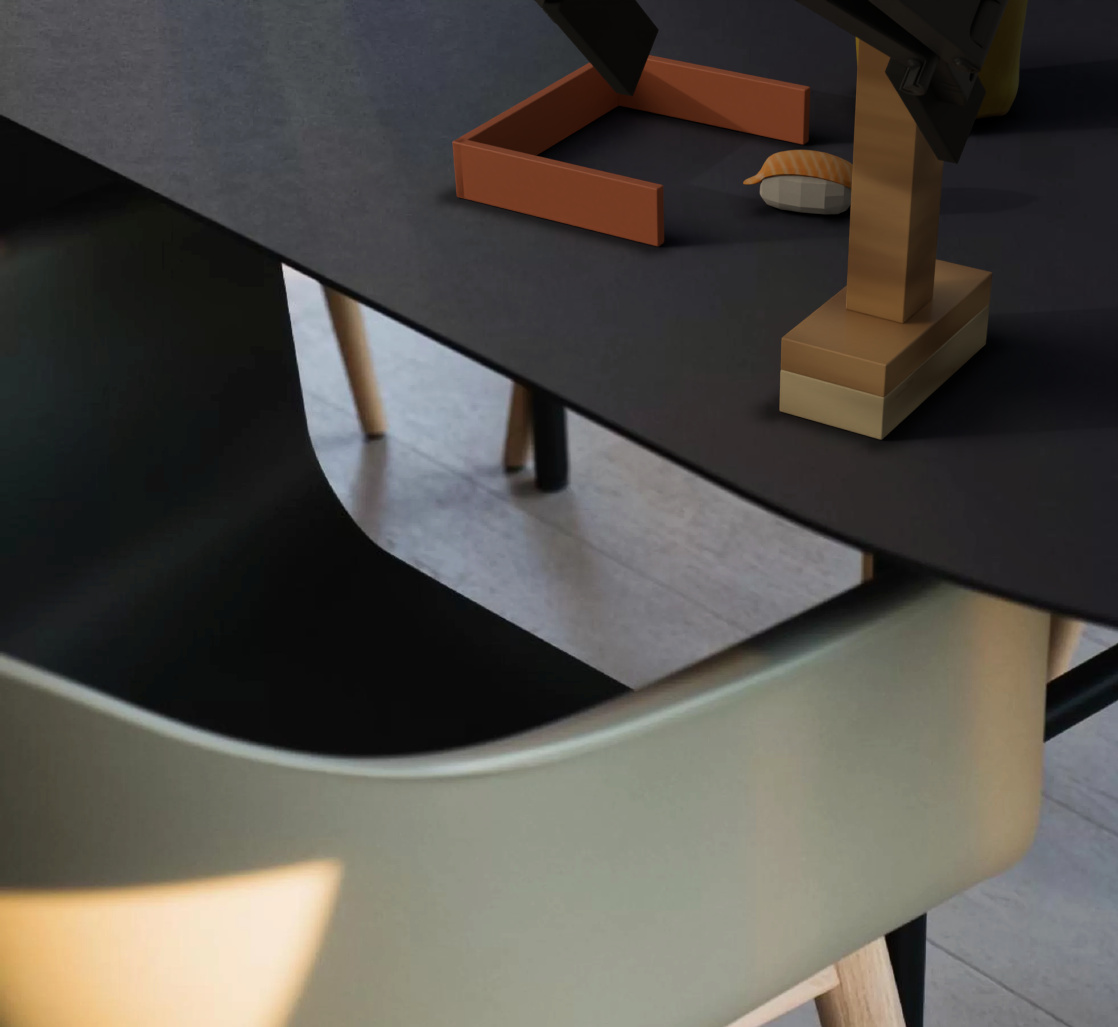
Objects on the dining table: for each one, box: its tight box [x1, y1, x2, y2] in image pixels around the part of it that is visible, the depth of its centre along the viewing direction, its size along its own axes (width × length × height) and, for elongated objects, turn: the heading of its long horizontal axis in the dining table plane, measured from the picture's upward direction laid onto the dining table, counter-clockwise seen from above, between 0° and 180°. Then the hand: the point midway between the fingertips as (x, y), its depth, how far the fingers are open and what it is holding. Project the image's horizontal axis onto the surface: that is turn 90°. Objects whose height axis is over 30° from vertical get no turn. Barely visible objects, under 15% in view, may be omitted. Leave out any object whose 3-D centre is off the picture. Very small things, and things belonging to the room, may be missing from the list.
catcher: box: [452, 54, 811, 247], centre depth 109 cm, size 13×15×3 cm
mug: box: [855, 0, 1029, 120], centre depth 113 cm, size 12×10×10 cm
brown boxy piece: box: [779, 39, 993, 441], centre depth 86 cm, size 10×5×16 cm, turn 145°
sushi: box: [742, 149, 853, 215], centre depth 104 cm, size 3×6×3 cm, turn 70°
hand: (793, 93), depth 75 cm, fingers open, 13 cm apart
